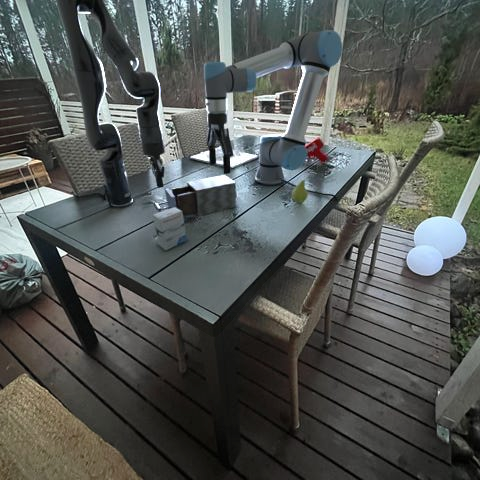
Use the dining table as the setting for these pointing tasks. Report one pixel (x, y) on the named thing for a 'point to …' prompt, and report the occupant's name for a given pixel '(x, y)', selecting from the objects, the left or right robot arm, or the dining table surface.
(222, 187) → the white box dark end
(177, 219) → the ink box
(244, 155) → the relief map
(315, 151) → the toy gun
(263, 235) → the dining table surface
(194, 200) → the drawer
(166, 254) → the dining table surface
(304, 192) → the fruit
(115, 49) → the left robot arm
